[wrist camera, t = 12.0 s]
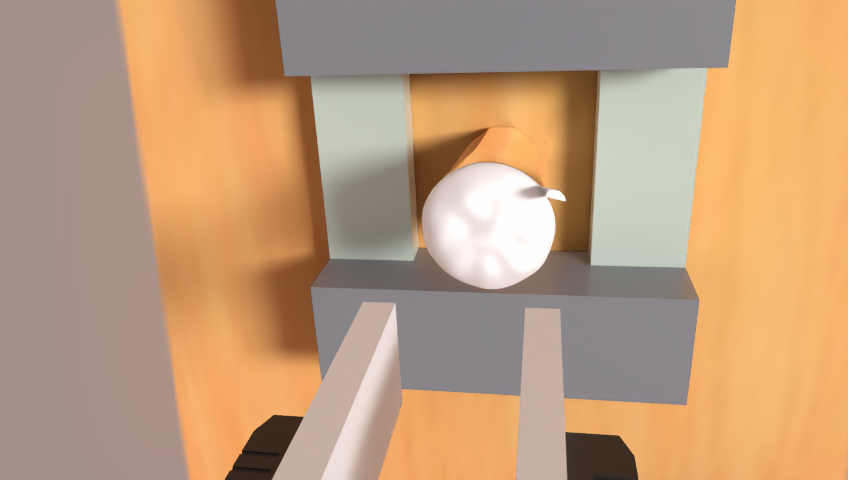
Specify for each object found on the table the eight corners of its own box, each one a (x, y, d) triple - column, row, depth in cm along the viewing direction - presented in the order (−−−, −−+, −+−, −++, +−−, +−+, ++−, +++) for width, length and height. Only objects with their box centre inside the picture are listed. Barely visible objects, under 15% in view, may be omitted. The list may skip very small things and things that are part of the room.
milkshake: (590, 160, 30) (606, 253, 21) (492, 226, 32) (469, 336, 23) (528, 77, 29) (518, 136, 20) (432, 151, 31) (383, 235, 22)
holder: (307, -65, 28) (267, -67, 24) (715, -88, 26) (747, -95, 22) (347, 334, 36) (322, 384, 32) (669, 348, 33) (686, 405, 29)
